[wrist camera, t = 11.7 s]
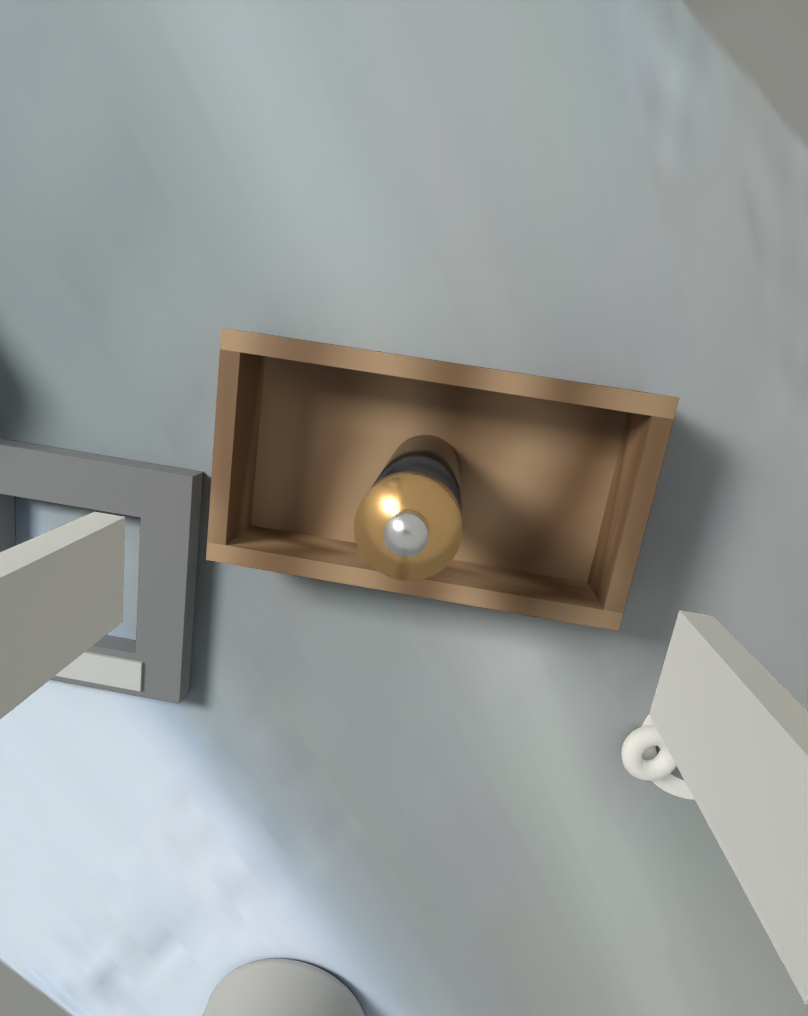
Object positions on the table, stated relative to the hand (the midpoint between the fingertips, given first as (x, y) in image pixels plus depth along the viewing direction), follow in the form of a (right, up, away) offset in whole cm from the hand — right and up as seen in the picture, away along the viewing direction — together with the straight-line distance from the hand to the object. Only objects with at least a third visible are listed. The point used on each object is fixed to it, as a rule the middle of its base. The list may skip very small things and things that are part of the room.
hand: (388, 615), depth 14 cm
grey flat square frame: (-20, -1, +24) cm, 32 cm away
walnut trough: (+2, +5, +21) cm, 21 cm away
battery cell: (+2, +5, +20) cm, 20 cm away
